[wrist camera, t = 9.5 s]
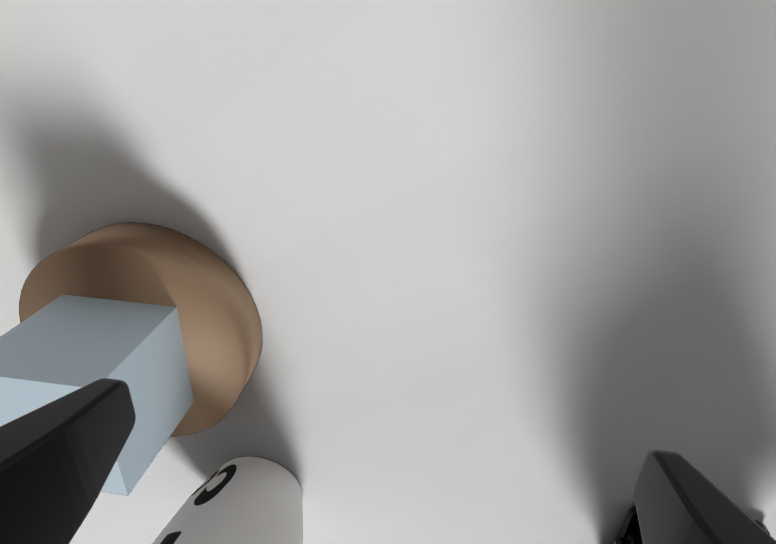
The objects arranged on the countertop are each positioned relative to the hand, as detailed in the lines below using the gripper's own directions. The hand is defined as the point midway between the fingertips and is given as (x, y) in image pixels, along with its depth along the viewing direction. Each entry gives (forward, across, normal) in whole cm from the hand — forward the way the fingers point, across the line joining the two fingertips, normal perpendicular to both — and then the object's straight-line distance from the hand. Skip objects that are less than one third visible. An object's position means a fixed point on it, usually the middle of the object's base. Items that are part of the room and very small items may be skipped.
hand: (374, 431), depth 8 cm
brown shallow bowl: (+12, +12, +7) cm, 18 cm away
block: (+10, +12, +7) cm, 17 cm away
